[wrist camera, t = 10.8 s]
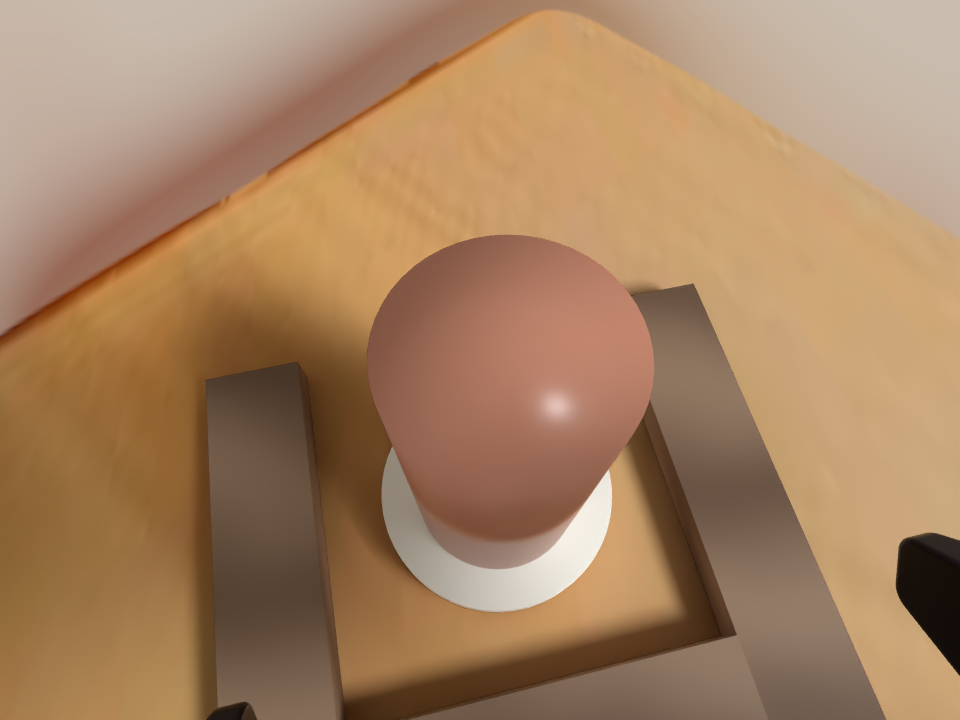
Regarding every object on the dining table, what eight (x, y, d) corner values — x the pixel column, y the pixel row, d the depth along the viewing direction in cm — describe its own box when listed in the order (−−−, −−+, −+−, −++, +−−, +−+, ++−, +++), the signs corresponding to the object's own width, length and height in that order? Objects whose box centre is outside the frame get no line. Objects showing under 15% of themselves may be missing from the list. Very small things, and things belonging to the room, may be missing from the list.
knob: (563, 653, 18) (658, 652, 8) (348, 557, 19) (217, 461, 9) (631, 438, 21) (760, 256, 11) (440, 367, 22) (409, 146, 12)
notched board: (901, 812, 16) (932, 823, 15) (248, 1004, 15) (229, 1032, 13) (683, 301, 23) (693, 283, 22) (219, 393, 21) (205, 379, 20)
